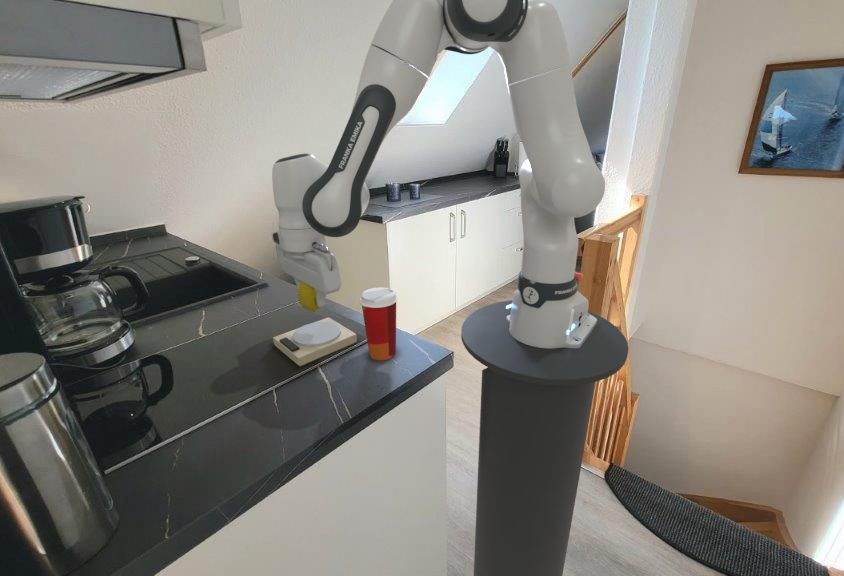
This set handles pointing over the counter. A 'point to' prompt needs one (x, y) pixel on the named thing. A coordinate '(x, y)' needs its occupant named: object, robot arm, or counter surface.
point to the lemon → (307, 297)
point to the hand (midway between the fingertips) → (312, 300)
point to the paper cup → (380, 321)
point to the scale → (314, 340)
